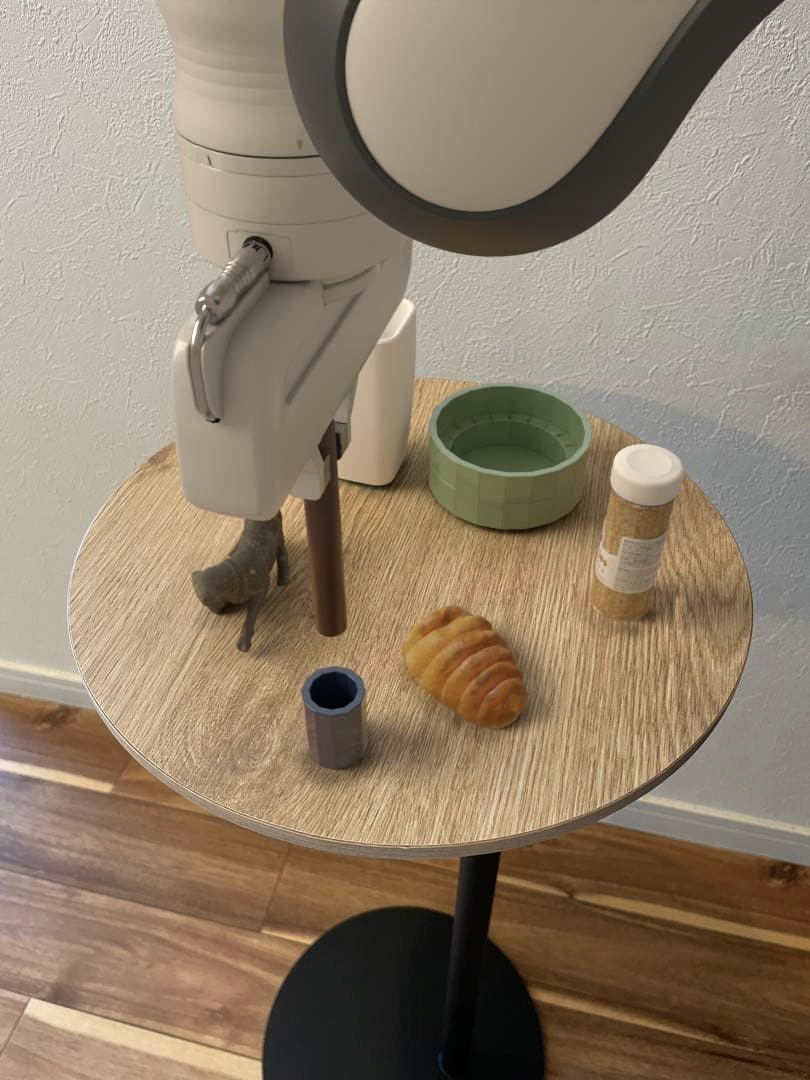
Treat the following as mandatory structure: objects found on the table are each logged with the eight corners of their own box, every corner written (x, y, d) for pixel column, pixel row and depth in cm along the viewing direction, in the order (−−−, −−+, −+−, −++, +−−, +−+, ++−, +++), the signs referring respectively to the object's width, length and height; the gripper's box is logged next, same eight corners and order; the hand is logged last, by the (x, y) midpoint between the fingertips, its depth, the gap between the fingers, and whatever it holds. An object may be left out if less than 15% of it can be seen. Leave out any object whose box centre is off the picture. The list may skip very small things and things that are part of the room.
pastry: (551, 706, 65) (556, 669, 63) (471, 754, 62) (474, 717, 60) (466, 622, 71) (468, 585, 68) (390, 663, 68) (389, 626, 65)
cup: (394, 501, 81) (392, 345, 71) (313, 484, 83) (301, 329, 73) (420, 451, 86) (422, 300, 77) (343, 436, 88) (335, 286, 78)
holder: (374, 733, 63) (372, 673, 59) (356, 780, 61) (353, 721, 57) (319, 720, 64) (314, 660, 60) (299, 767, 61) (292, 707, 57)
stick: (351, 617, 55) (339, 413, 46) (341, 640, 54) (327, 435, 45) (321, 611, 56) (304, 408, 46) (311, 634, 54) (290, 429, 45)
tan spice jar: (586, 582, 74) (611, 439, 65) (646, 586, 74) (680, 443, 65) (589, 626, 71) (616, 481, 62) (652, 630, 70) (689, 485, 61)
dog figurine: (238, 541, 77) (227, 468, 72) (307, 553, 76) (300, 479, 71) (176, 651, 69) (159, 576, 64) (253, 666, 68) (241, 590, 63)
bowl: (592, 452, 86) (601, 395, 82) (570, 548, 77) (579, 489, 73) (448, 429, 89) (450, 372, 85) (410, 518, 80) (410, 460, 76)
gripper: (277, 330, 30) (308, 633, 39) (438, 115, 45) (433, 372, 54) (95, 304, 31) (167, 604, 41) (309, 104, 46) (326, 357, 55)
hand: (320, 470), depth 47 cm, fingers closed on stick, 2 cm apart
